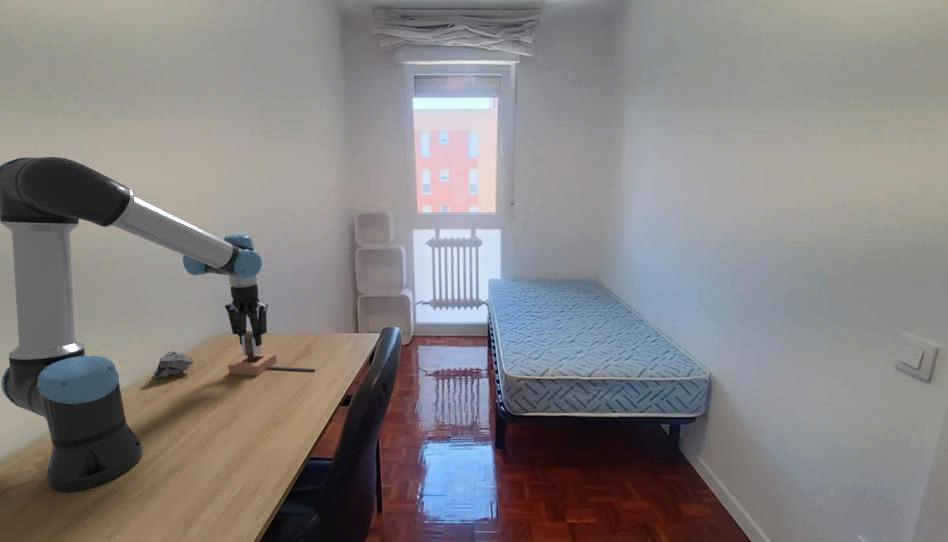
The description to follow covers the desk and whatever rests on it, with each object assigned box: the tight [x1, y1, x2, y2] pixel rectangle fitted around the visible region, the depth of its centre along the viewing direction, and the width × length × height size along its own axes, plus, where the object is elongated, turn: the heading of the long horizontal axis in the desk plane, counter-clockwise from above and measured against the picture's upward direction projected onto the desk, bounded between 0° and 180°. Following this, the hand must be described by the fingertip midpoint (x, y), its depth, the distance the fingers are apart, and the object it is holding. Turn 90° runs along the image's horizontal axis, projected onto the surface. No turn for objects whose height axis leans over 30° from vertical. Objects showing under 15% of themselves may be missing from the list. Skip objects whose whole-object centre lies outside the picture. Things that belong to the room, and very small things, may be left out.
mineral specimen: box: [153, 351, 196, 379], centre depth 135 cm, size 10×8×10 cm
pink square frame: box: [227, 352, 278, 376], centre depth 139 cm, size 10×10×3 cm
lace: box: [267, 365, 316, 373], centre depth 138 cm, size 1×16×1 cm, turn 83°
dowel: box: [245, 330, 258, 363], centre depth 138 cm, size 3×3×12 cm
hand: (252, 354), depth 138 cm, fingers closed on dowel, 3 cm apart
